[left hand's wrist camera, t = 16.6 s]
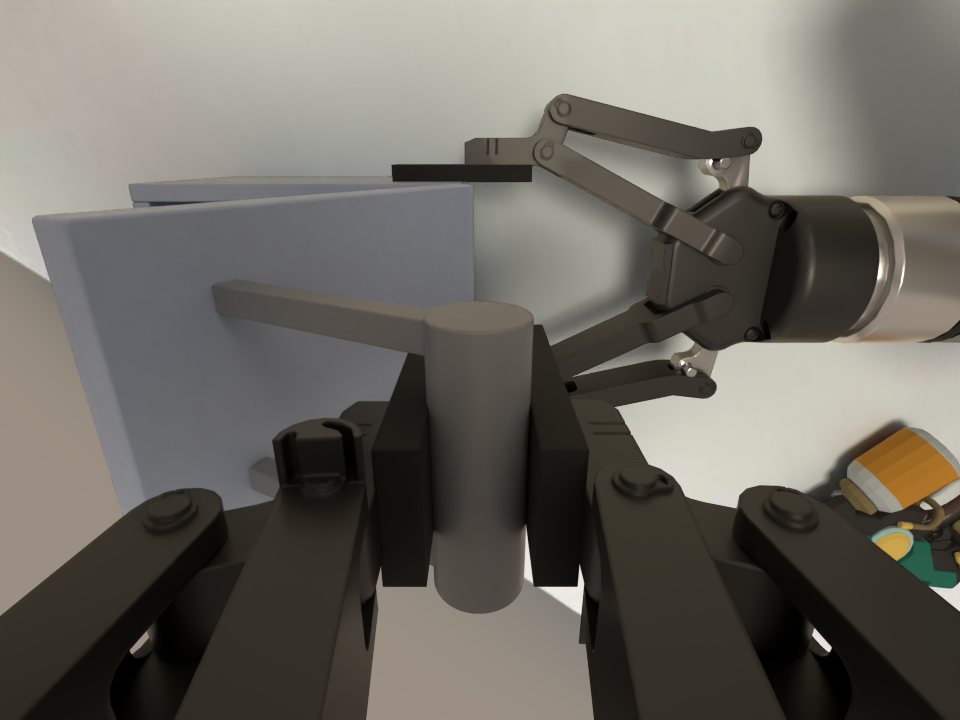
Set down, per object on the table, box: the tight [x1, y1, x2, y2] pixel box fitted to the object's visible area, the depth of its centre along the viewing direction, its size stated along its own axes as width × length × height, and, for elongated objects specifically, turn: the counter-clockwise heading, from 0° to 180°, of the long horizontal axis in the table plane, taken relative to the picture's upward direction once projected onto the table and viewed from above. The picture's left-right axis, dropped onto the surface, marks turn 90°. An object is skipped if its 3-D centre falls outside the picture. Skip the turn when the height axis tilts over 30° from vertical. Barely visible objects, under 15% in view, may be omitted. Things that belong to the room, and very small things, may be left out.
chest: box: [129, 177, 467, 208], centre depth 28 cm, size 14×9×10 cm, turn 90°
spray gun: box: [824, 427, 960, 588], centre depth 38 cm, size 4×17×15 cm
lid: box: [32, 184, 534, 614], centre depth 15 cm, size 15×9×9 cm
